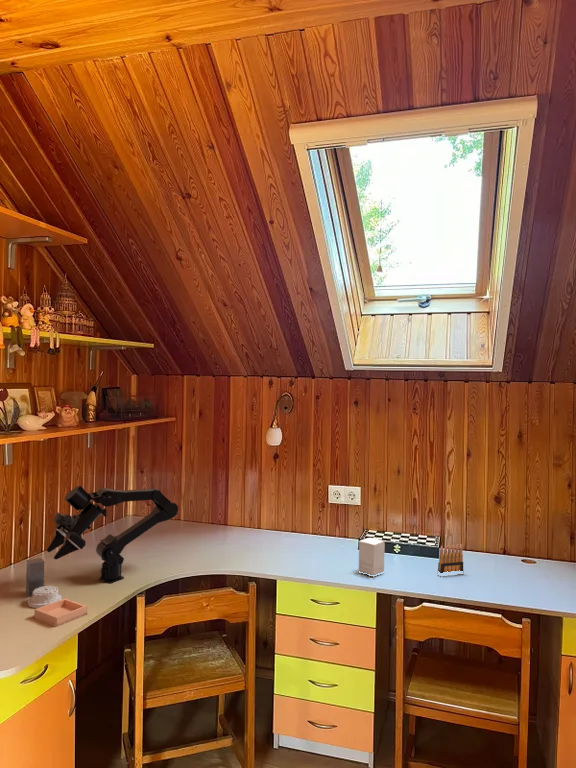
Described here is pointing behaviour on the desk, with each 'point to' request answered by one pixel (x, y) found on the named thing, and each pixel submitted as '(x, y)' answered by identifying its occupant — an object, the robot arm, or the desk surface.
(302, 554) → the desk surface
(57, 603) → the terracotta bin
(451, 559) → the ammunition clip
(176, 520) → the desk surface
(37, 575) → the graphite square block
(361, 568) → the supplement box
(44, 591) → the mechanical component
